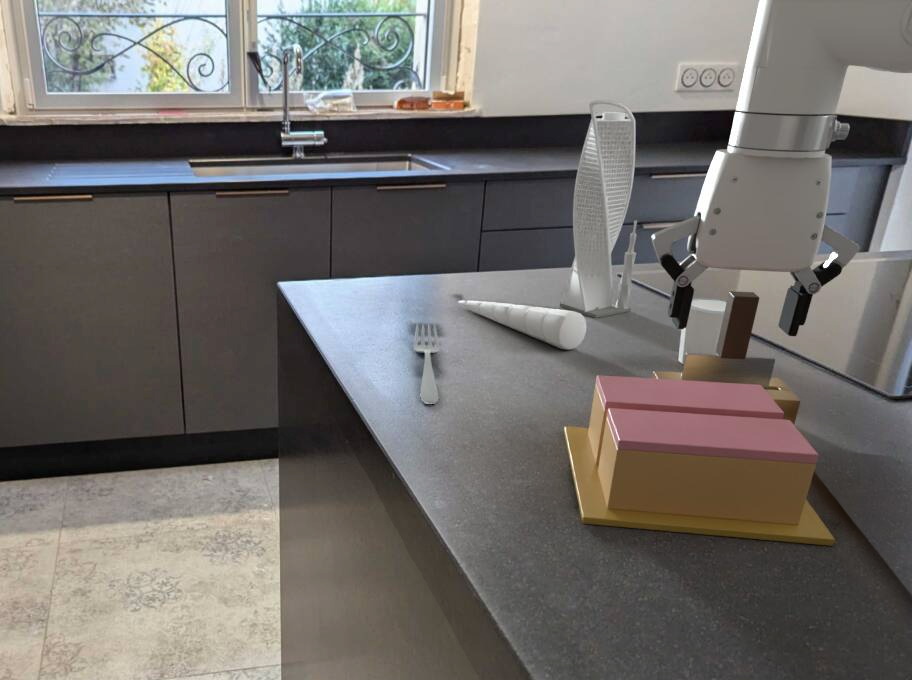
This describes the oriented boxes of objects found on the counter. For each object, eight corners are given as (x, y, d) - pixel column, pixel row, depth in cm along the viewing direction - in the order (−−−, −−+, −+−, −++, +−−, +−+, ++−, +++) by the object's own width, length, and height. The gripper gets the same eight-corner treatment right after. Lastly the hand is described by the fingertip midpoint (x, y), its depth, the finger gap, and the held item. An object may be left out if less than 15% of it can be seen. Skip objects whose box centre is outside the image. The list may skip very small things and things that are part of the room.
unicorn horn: (479, 302, 123) (482, 270, 121) (587, 349, 103) (592, 311, 101) (452, 306, 121) (454, 273, 119) (556, 354, 101) (561, 316, 99)
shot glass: (666, 364, 98) (677, 307, 94) (680, 349, 103) (690, 294, 100) (729, 375, 94) (742, 316, 91) (740, 359, 99) (753, 302, 96)
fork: (414, 405, 86) (415, 389, 86) (413, 336, 108) (413, 323, 107) (445, 406, 86) (446, 390, 85) (437, 336, 108) (438, 323, 107)
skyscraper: (588, 319, 115) (619, 101, 103) (546, 305, 121) (571, 99, 109) (630, 311, 118) (665, 99, 106) (588, 298, 125) (616, 97, 113)
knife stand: (770, 414, 84) (780, 377, 82) (790, 439, 78) (801, 400, 76) (646, 406, 86) (653, 370, 84) (657, 430, 80) (664, 392, 79)
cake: (762, 445, 77) (779, 379, 74) (833, 546, 61) (858, 466, 58) (563, 431, 80) (572, 367, 77) (582, 523, 64) (594, 447, 61)
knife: (755, 421, 82) (787, 293, 77) (761, 429, 80) (794, 298, 75) (670, 415, 84) (696, 289, 78) (674, 423, 82) (700, 294, 76)
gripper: (870, 135, 72) (816, 323, 80) (664, 129, 75) (630, 312, 83) (909, 143, 66) (846, 347, 73) (680, 137, 69) (642, 334, 76)
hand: (732, 328), depth 78 cm, fingers open, 9 cm apart
